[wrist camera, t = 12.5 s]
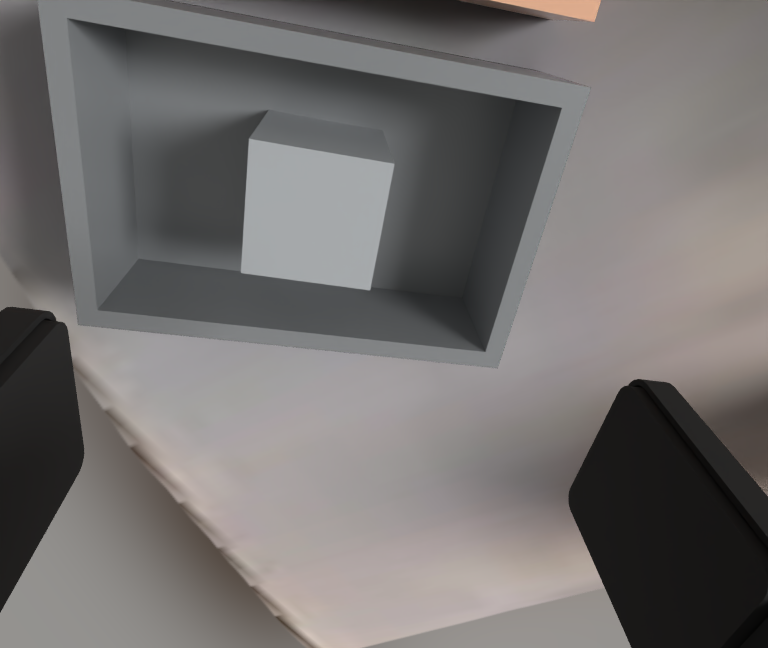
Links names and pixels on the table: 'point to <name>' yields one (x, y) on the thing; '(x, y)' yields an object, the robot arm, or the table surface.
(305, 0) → the table surface
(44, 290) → the table surface
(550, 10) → the trough
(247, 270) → the block
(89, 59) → the bin
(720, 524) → the robot arm
